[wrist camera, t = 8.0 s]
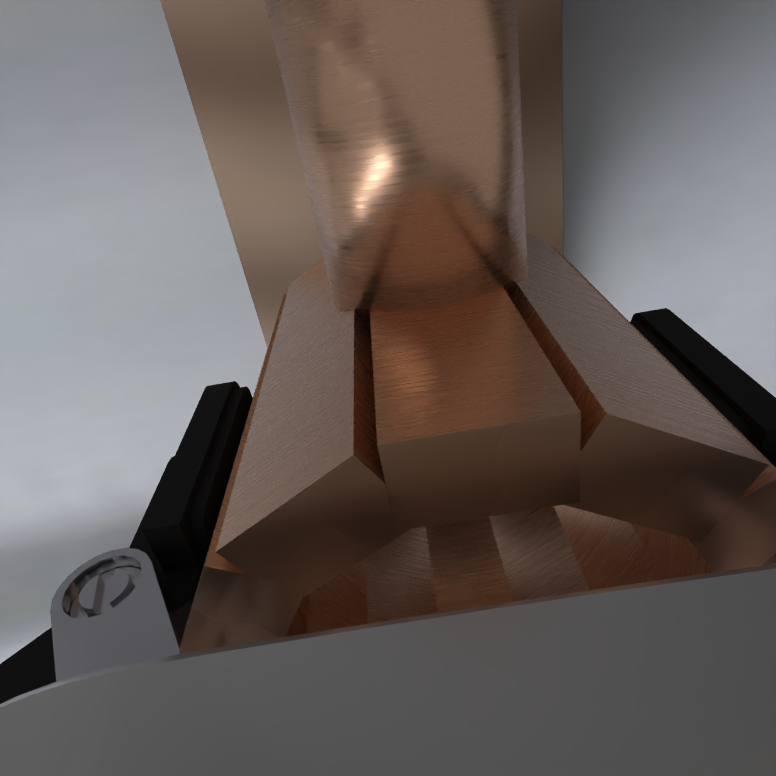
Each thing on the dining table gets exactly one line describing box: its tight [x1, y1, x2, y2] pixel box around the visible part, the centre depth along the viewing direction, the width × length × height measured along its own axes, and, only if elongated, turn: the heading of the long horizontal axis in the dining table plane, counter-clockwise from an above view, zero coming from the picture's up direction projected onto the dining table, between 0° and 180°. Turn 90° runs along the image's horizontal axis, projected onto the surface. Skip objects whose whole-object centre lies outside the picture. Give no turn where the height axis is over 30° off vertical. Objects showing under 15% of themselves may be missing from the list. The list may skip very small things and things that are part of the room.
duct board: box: [160, 0, 563, 348], centre depth 16 cm, size 22×10×8 cm, turn 9°
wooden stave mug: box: [179, 0, 776, 653], centre depth 9 cm, size 7×11×7 cm, turn 9°
